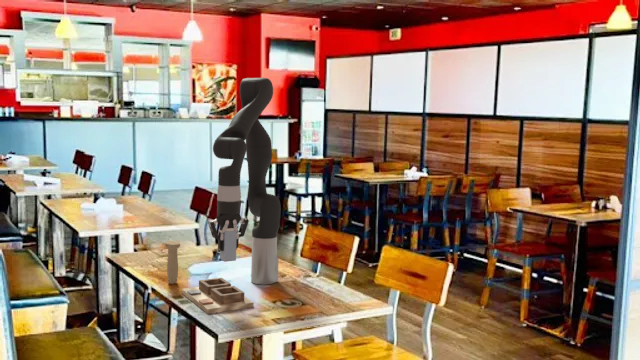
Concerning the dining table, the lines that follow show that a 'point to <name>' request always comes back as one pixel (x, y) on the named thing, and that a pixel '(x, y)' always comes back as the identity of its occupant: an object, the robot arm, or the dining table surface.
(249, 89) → the robot arm
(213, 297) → the socket board
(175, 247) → the handle
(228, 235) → the plug
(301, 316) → the dining table surface
